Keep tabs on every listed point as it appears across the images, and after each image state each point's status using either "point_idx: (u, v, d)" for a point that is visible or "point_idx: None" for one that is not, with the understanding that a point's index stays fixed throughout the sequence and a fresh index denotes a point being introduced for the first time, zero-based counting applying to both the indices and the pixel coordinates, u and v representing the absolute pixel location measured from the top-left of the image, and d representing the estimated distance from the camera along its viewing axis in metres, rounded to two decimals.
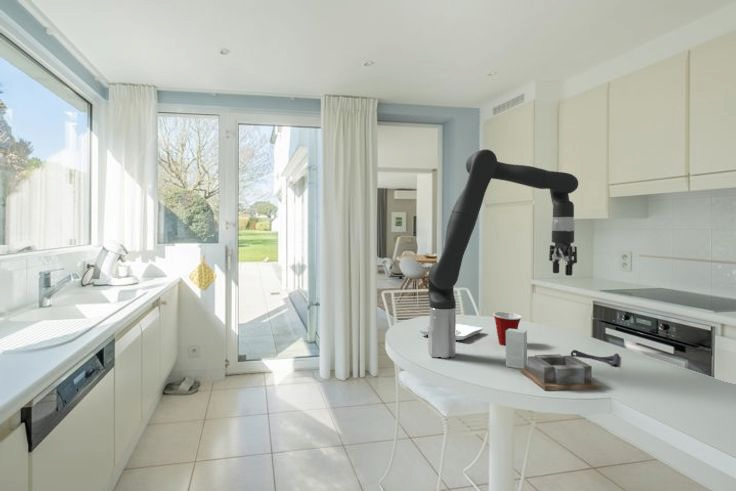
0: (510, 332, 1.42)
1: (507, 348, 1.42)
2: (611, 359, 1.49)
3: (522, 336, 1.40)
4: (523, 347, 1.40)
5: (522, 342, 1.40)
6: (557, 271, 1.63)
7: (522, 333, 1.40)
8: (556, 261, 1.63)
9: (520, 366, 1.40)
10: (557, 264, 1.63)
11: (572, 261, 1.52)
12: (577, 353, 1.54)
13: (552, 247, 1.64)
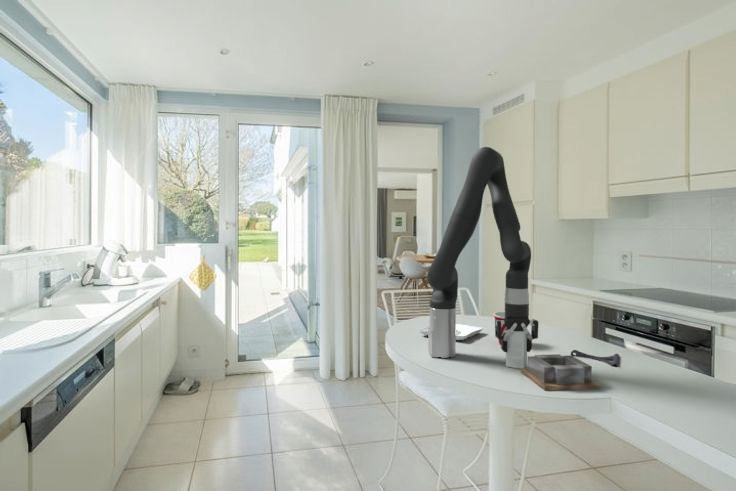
0: None
1: (507, 348, 1.42)
2: (611, 359, 1.49)
3: (522, 336, 1.40)
4: (523, 347, 1.40)
5: (522, 342, 1.40)
6: None
7: (522, 333, 1.40)
8: None
9: (520, 366, 1.40)
10: None
11: None
12: (577, 353, 1.54)
13: (500, 323, 1.42)
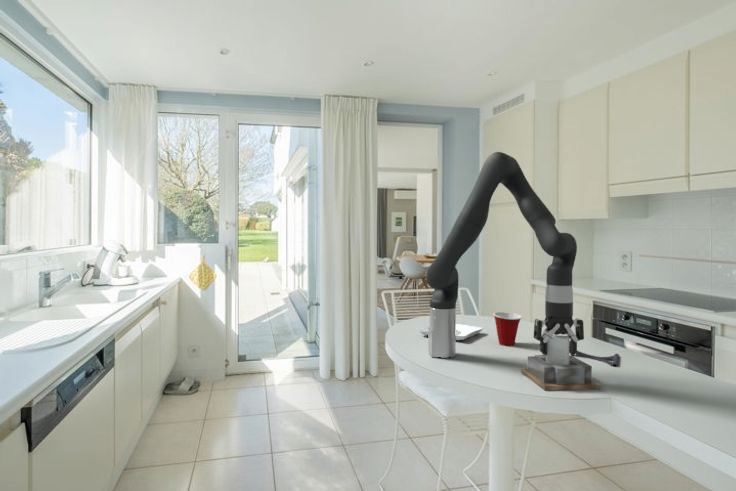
0: (551, 338, 1.28)
1: (548, 355, 1.29)
2: (611, 359, 1.49)
3: (565, 343, 1.26)
4: (566, 355, 1.26)
5: (565, 349, 1.26)
6: None
7: (565, 339, 1.26)
8: None
9: None
10: None
11: None
12: (577, 353, 1.54)
13: None
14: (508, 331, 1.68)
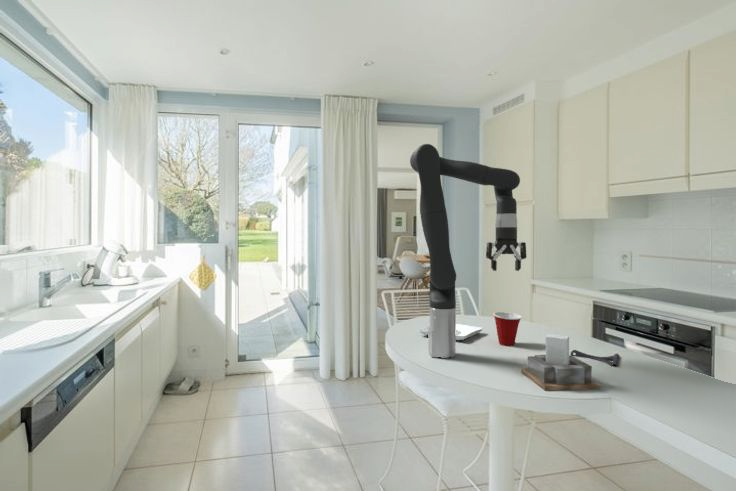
0: (551, 338, 1.28)
1: (548, 355, 1.29)
2: (611, 359, 1.49)
3: (565, 343, 1.26)
4: (566, 355, 1.26)
5: (565, 349, 1.26)
6: None
7: (565, 339, 1.26)
8: None
9: None
10: None
11: None
12: (577, 353, 1.54)
13: (491, 244, 1.58)
14: (508, 331, 1.68)
